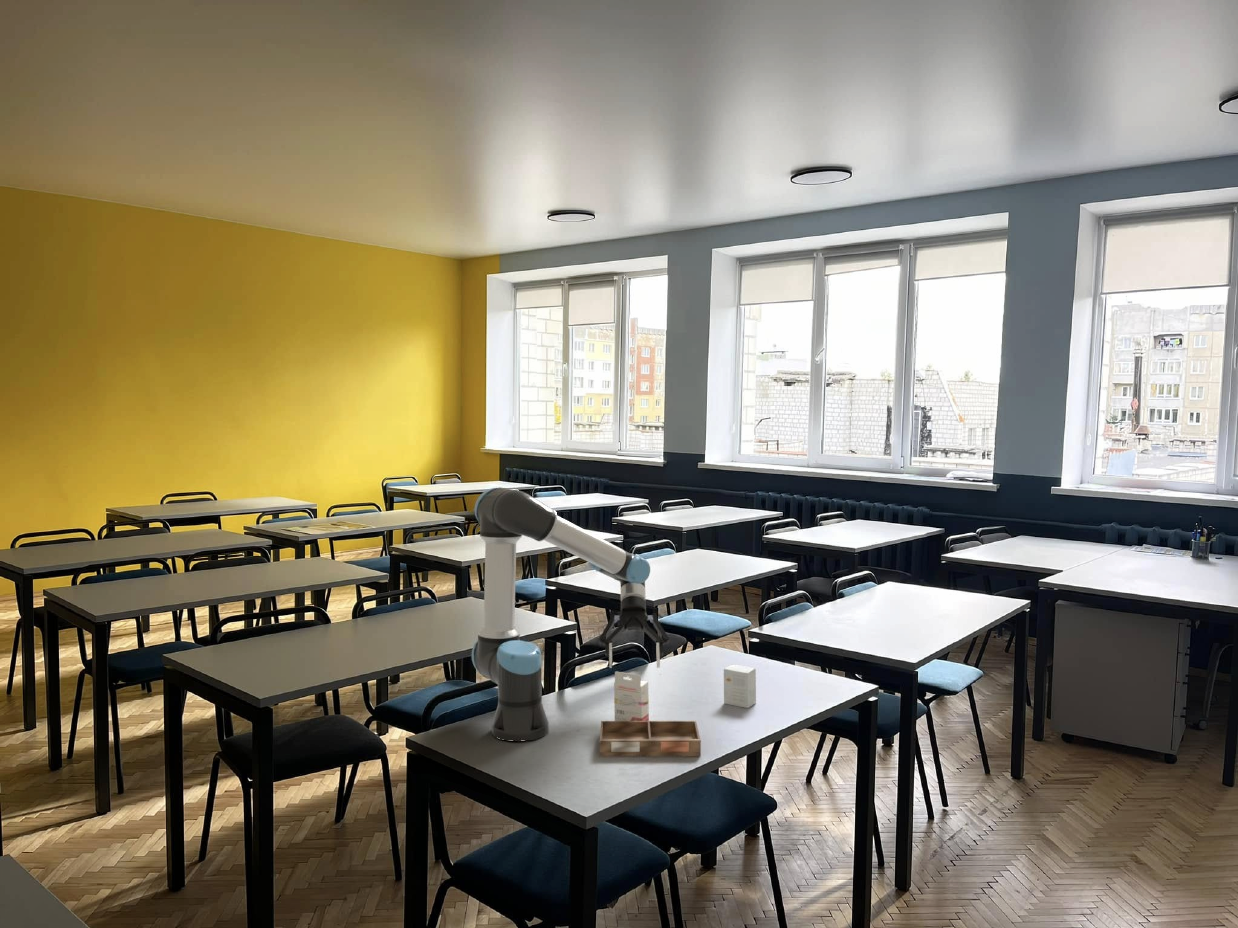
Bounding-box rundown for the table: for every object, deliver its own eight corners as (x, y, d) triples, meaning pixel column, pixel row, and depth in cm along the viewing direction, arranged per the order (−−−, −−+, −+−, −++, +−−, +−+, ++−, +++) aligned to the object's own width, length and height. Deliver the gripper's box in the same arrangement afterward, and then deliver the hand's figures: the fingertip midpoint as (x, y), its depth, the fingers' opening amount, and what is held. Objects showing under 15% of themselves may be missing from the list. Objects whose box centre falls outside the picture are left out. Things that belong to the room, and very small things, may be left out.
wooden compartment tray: (599, 756, 208) (599, 741, 208) (601, 735, 222) (601, 720, 222) (700, 756, 208) (700, 740, 208) (696, 735, 222) (695, 720, 222)
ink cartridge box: (649, 723, 231) (649, 670, 231) (641, 729, 227) (641, 675, 226) (622, 718, 235) (621, 666, 235) (613, 723, 231) (613, 671, 230)
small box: (756, 703, 247) (756, 668, 246) (748, 708, 242) (748, 672, 242) (731, 698, 251) (731, 663, 251) (723, 703, 247) (723, 668, 246)
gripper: (674, 607, 255) (677, 671, 241) (592, 608, 255) (591, 671, 241) (675, 594, 249) (679, 658, 235) (591, 594, 249) (590, 659, 235)
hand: (634, 665), depth 238 cm, fingers open, 13 cm apart
